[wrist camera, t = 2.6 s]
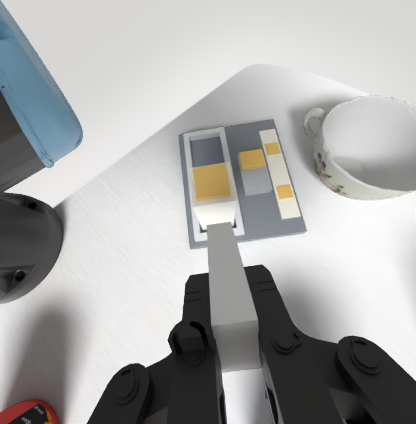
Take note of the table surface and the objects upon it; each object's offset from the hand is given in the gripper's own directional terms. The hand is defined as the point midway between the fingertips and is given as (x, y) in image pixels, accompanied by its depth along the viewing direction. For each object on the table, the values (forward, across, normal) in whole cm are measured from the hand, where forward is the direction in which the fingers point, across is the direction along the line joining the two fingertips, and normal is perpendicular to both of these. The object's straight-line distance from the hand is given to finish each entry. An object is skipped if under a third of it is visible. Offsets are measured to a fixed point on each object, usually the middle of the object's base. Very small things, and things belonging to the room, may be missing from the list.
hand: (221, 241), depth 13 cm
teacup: (+18, +18, -3) cm, 25 cm away
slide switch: (+14, 0, -5) cm, 14 cm away
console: (+18, +3, -2) cm, 18 cm away
